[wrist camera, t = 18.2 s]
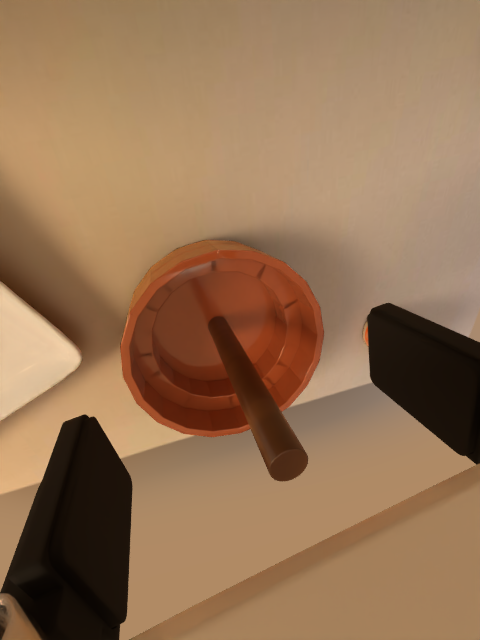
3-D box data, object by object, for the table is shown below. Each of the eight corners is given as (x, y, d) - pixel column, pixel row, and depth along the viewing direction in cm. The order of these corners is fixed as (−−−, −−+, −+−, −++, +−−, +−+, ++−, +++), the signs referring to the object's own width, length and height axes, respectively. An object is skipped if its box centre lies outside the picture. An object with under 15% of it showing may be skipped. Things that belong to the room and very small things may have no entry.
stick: (210, 336, 27) (272, 487, 13) (205, 319, 27) (266, 458, 12) (229, 331, 28) (310, 472, 13) (225, 313, 27) (306, 443, 13)
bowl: (164, 415, 30) (167, 463, 25) (96, 271, 24) (79, 292, 18) (303, 362, 32) (333, 395, 27) (275, 217, 26) (307, 221, 20)
